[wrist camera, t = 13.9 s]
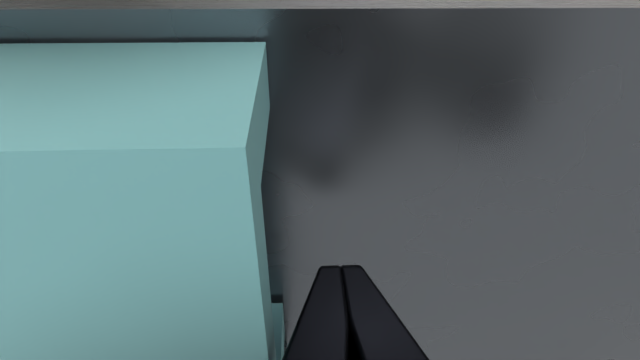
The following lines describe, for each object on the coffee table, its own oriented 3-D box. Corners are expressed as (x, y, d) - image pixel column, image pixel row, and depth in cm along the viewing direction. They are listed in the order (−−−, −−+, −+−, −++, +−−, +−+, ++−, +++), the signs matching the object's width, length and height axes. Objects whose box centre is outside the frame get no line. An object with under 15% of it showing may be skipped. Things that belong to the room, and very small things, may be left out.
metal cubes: (878, -8, 8) (1274, 66, 5) (593, 389, 17) (668, 516, 14) (-164, -7, 8) (-539, 83, 4) (89, 411, 16) (34, 552, 13)
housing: (265, 41, 7) (245, 147, 4) (284, 330, 12) (280, 474, 9) (-168, 44, 7) (-501, 159, 4) (26, 340, 11) (-64, 492, 9)
